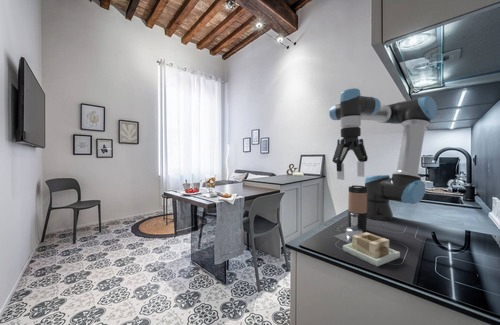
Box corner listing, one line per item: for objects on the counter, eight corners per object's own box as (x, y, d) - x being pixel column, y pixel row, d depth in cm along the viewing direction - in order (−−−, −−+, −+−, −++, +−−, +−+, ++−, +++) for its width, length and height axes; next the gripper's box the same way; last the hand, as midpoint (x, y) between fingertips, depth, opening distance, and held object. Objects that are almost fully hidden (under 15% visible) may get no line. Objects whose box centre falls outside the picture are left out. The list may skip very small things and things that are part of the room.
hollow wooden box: (366, 245, 78) (366, 232, 78) (392, 255, 70) (393, 241, 69) (352, 249, 74) (352, 236, 74) (378, 261, 66) (378, 245, 66)
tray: (364, 243, 81) (364, 239, 81) (399, 257, 70) (399, 252, 70) (342, 250, 75) (342, 245, 75) (377, 266, 64) (377, 260, 64)
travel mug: (369, 233, 91) (369, 188, 91) (350, 232, 93) (351, 187, 92) (363, 227, 99) (364, 185, 98) (346, 226, 100) (346, 185, 100)
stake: (351, 232, 93) (351, 208, 92) (375, 241, 83) (376, 215, 82) (333, 237, 88) (333, 212, 87) (357, 247, 78) (357, 219, 77)
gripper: (359, 129, 97) (360, 174, 98) (322, 127, 84) (323, 179, 85) (376, 127, 90) (376, 176, 91) (338, 125, 78) (339, 181, 79)
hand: (351, 177), depth 88 cm, fingers open, 13 cm apart
